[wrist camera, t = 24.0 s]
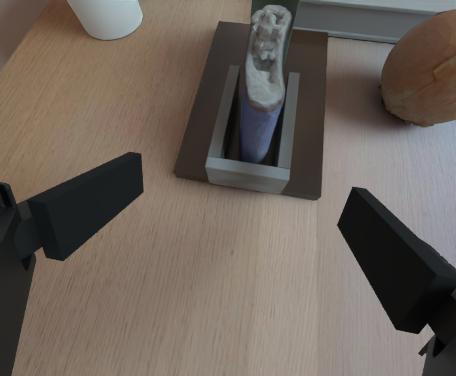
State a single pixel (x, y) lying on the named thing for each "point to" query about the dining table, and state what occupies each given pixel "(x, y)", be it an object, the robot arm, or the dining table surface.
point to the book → (367, 17)
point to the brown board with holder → (286, 123)
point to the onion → (423, 73)
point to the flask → (262, 82)
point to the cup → (108, 17)
